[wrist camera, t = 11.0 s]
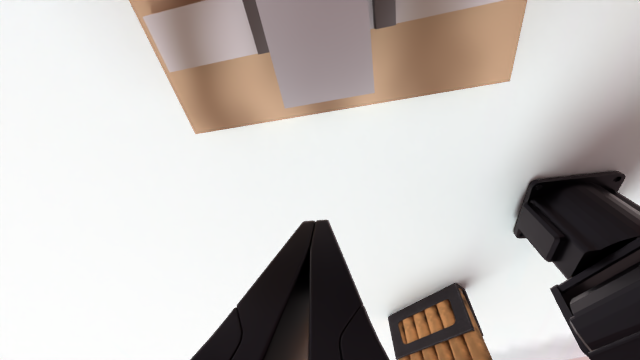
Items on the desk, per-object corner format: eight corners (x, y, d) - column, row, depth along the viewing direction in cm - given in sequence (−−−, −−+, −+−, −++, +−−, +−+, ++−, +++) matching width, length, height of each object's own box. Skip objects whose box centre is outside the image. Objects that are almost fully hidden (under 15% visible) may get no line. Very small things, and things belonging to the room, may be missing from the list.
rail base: (561, -233, 10) (635, -314, 8) (501, 77, 16) (530, 89, 14) (103, -77, 13) (49, -98, 11) (201, 128, 20) (181, 145, 17)
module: (348, -93, 12) (356, -173, 7) (363, 66, 16) (374, 92, 11) (269, -70, 12) (221, -127, 7) (301, 78, 16) (284, 108, 11)
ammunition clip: (396, 321, 34) (420, 446, 25) (387, 317, 34) (407, 442, 24) (465, 289, 29) (529, 429, 19) (455, 282, 29) (516, 424, 19)
